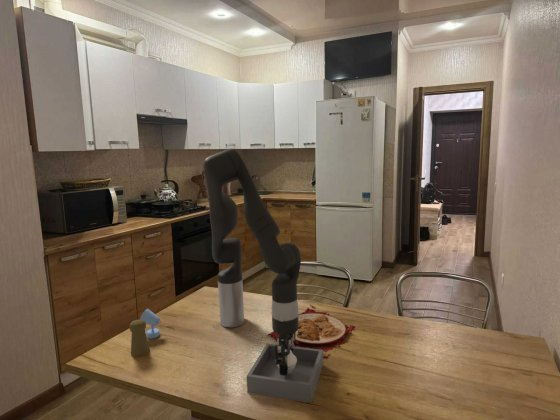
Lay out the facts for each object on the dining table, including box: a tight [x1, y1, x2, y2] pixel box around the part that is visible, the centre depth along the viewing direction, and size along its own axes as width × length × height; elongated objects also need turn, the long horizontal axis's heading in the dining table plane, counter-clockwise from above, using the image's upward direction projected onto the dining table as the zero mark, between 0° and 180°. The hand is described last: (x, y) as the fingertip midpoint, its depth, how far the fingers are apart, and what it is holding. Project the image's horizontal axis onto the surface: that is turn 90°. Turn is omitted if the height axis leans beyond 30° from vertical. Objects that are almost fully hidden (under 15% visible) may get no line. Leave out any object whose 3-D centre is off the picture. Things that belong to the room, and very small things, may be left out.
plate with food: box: [267, 304, 356, 358], centre depth 138 cm, size 25×26×4 cm
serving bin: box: [246, 342, 324, 403], centre depth 110 cm, size 18×18×5 cm
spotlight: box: [139, 308, 161, 339], centre depth 139 cm, size 5×10×7 cm
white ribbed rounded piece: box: [277, 350, 297, 374], centre depth 110 cm, size 6×6×7 cm
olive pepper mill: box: [129, 318, 151, 358], centre depth 127 cm, size 6×6×11 cm
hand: (286, 367), depth 110 cm, fingers closed on white ribbed rounded piece, 6 cm apart
